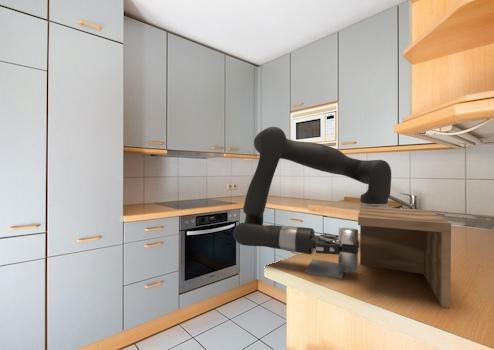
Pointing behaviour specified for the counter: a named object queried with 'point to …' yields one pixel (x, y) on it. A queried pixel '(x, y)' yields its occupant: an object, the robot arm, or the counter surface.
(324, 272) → the rubber mat
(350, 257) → the steel tin
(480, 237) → the counter surface
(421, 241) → the walnut desk
